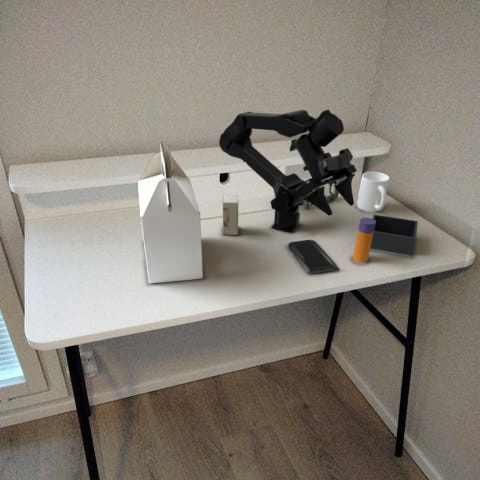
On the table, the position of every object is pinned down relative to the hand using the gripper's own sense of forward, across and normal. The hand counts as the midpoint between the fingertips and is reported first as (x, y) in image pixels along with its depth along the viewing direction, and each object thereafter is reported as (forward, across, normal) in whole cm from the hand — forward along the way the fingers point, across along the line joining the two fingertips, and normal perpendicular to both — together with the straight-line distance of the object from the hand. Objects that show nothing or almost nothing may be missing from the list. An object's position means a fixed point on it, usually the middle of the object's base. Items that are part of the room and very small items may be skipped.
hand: (342, 210), depth 121 cm
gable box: (-10, -37, +26) cm, 46 cm away
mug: (+3, +29, +14) cm, 33 cm away
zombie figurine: (-8, +22, +24) cm, 34 cm away
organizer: (+14, +14, +2) cm, 20 cm away
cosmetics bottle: (-11, -15, +27) cm, 33 cm away
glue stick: (+14, 0, +3) cm, 14 cm away
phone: (+7, -9, +9) cm, 15 cm away
